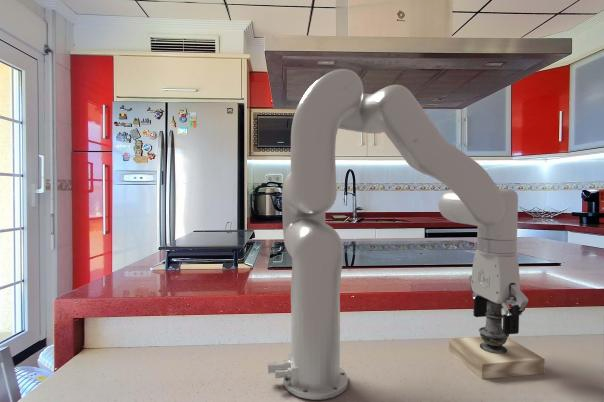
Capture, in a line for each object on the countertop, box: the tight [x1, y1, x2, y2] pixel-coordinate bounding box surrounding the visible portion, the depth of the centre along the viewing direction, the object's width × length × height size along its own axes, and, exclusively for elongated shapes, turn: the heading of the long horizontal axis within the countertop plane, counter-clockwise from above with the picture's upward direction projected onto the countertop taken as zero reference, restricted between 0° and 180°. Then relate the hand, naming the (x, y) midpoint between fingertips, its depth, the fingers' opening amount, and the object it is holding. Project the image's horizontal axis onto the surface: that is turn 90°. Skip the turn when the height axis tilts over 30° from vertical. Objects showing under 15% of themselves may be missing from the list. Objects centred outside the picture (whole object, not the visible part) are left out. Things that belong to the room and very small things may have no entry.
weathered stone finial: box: [478, 300, 510, 354], centre depth 80 cm, size 6×6×12 cm
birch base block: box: [448, 336, 546, 380], centre depth 80 cm, size 14×12×3 cm
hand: (494, 324), depth 80 cm, fingers open, 9 cm apart
